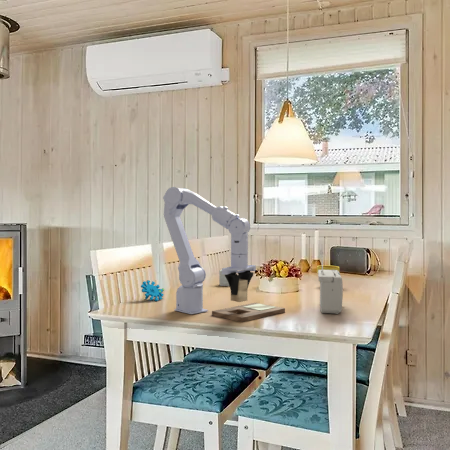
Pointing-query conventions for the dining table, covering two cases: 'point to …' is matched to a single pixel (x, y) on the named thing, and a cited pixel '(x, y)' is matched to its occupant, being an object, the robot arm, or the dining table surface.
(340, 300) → the stereo radio cassette player
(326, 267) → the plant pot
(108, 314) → the dining table surface
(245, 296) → the maple block
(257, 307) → the pocket board
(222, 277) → the product box
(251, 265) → the robot arm
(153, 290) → the gear
